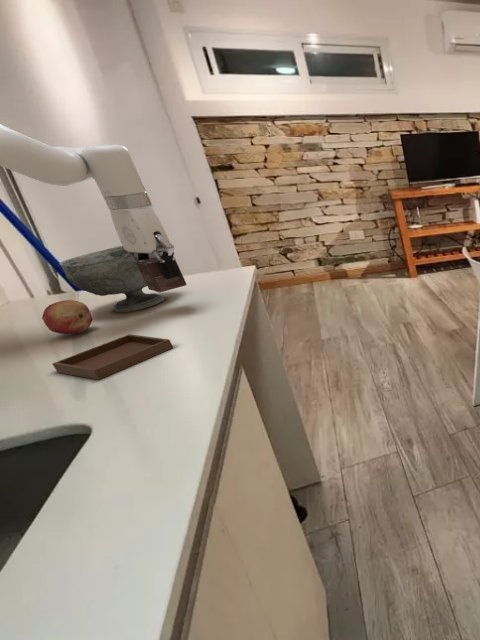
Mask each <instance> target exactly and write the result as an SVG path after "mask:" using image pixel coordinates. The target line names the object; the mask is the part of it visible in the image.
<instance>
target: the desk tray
mask: <svg viewBox="0 0 480 640" xmlns="http://www.w3.org/2000/svg"><path fill="white" fill-rule="evenodd" d="M171 349H174V345H173V344H172V342H171V340H170V338H169V339H168V338H161V337H153V336H145V335H138V334H130V333H129V334H126V335H123V336H121V337H118V338H116V339H115V338H114V339H112V340H110V341H107V342H105V343H102V344H99V345H97V346H94V347H92V348H89V349H86V350H84V351H81V352H79V353H76V354H73V355H71V356H68V357H65V358H63V359H60V360H57V361H55V362H53V363H51V364H52V366H53V368H54V369H55V370H56V372H57V373H59V374H65V375H69V376H70V375H71V376H76V377H82V378H87V379H93V380H100V381H101V380H103V379H104V378H107V377H109V376H111V375H113V374H116V373H118V372H121V371H123V370H125V369H127V368H130V367H132V366H134V365H136V364H137V365H138V364H139V363H142V362H143V361H146V360H148V359H151V358H153V357H156V356H157V355H159V354H163V353H164V352H167V351H169V350H171Z"/></svg>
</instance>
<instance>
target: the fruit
mask: <svg viewBox="0 0 480 640" xmlns="http://www.w3.org/2000/svg"><path fill="white" fill-rule="evenodd" d="M41 319H42V321H43V323H44V325H45V327H46V328H47V329H48V330H49V331H51V332H52V333H56V334H61V335H71V336H72V335H78V334H81V333H83V332H85V331H86V330H87V329H89V327H90V326H91V325H92V323H93V317H92V314H91V311H90V309H89V307H88V305H86V304H85V303H83V302H81V301H78V300H74V299H64V300H60V301H56V302H54V303H51V304H48V305H47V306H46V307H45V309H44V311H43V313H42V316H41Z"/></svg>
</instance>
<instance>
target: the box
mask: <svg viewBox="0 0 480 640" xmlns="http://www.w3.org/2000/svg"><path fill="white" fill-rule="evenodd" d="M174 261H175V263H176V265H177V267H178V270H179V272H180V276H177V277H173V278H170V279H166V278H165V277H164V275H163V273H162V271H161V268H160V266H159V264H158V263H161V262H160V261H159V260H158V259H157V258H156V257H154V258H150V259H145V260H141V261H137V262H136V264H137V266H138V268H139V270H140V272H141V274H142V276H143V278H144V280H145V282H146V284H147V286H146V287H147V289H148V290H150V291H153V292H156V293H163V292H167V291H171V290H174V289H178V288H182V287H185V286H187V281H186V279H185V277H184V275H183V273H182V271H181V269H180V266H179V264H178V262H177V260H176V259H175V260H174Z"/></svg>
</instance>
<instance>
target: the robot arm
mask: <svg viewBox="0 0 480 640" xmlns="http://www.w3.org/2000/svg"><path fill="white" fill-rule="evenodd" d="M0 167H1V168H4V169H7V170H10V171H12V172H14V173H17V174H20V175H22V176H25V177H28V178H30V179H32V180H36V181H38V182H42V183H44V184H48V185H51V186H57V187H68V186H72V185H75V184H78V183H82V182H86V181H90V180H94V181H95V183H96V185H97V187H98V190H99V191H100V193H101V196H102V198H103V200H104V202H105V204H106V206H107V208H108V210H109V213H110V217H111V221H112V223H113V226H114V228H115V231H116V234H117V236H118V238H119V241H120V243H121V246H123V247H124V249H125V250H126V251H128V252H130V253H132V254H133V255H134V258H135V260H136V261H141V260H145V259H150V258H151V256H150V253H152V252H153V254H154V255H155V256H156V258H157V259H158V260H159V261H160V262H161V263H158V264H159V266H160V268H161V271H162V273H163V275H164V277H165V278H166V279H170V278H173V277H177V276H180V272H179V270H178V267H177V265H176V263H175V261H174V260H176V257H175V256H174V255H175V252H174V251H175V246H174V244H173V243H171V242H170V239H169V237H168V235H167V233H166V230H165V229H164V226H163V224H162V222H161V220H160V219H159V216H158V215H157V214H156V212H155V210H154V209H153V204H152V201H151V199H150V197H149V195H148V192H147V190H146V188H145V185H144V183H143V181H142V179H141V176H140V174H139V172H138V170H137V167H136V164H135V163H134V160H133V158H132V156H131V154H130V152H129V150H128V148H126V147H125V146H124V145H121V144H99V145H89V146H88V145H87V146H85V147H74V146H52V145H49V144H47V143H44V142H42V141H40V140H38V139H35V138H33V137H30V136H28V135H25V134H23V133H22V132H19V131H16V130H14V129H12V128H10V127H8V126H5V124H1V123H0ZM156 248H157V249H156ZM160 252H162V256H161V255H160Z"/></svg>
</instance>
